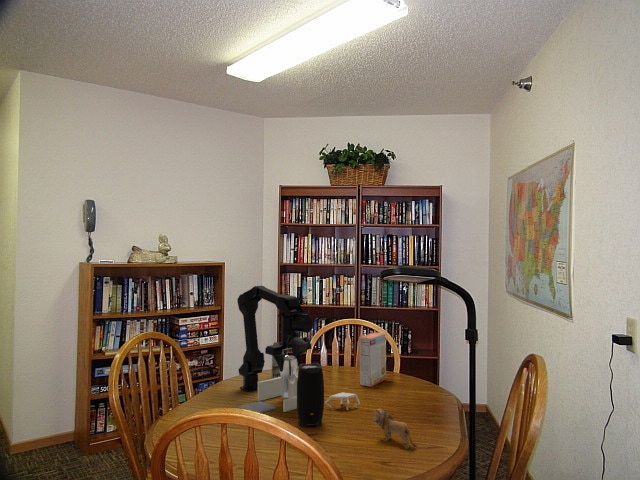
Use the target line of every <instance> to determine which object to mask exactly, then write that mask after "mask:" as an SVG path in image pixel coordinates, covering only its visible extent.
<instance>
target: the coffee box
mask: <svg viewBox="0 0 640 480" xmlns="http://www.w3.org/2000/svg"><path fill="white" fill-rule="evenodd" d="M279 342H280V341H279ZM279 342H277V341H276V342H275V341H274V342H273V344H272V345H277V346H281V345H279ZM288 351H289V350H287V351H283V354H284V355H285V356H289V354H288ZM278 377H280V369H279V367H278V364H277V362H276V360H275V358H274V357H273V356H272V355H271V379H274V378H278Z"/></svg>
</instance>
